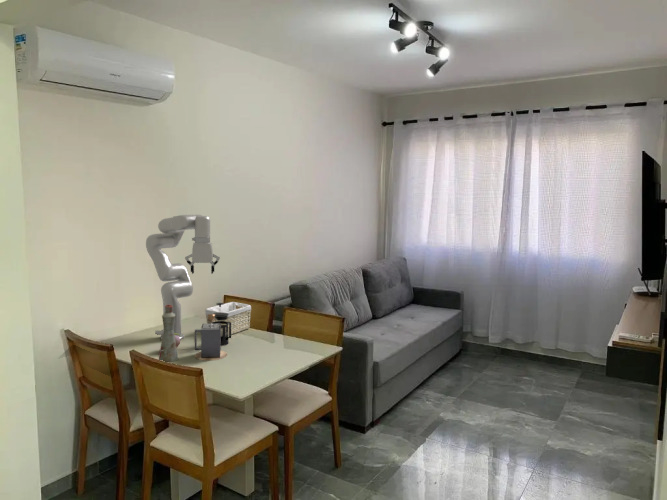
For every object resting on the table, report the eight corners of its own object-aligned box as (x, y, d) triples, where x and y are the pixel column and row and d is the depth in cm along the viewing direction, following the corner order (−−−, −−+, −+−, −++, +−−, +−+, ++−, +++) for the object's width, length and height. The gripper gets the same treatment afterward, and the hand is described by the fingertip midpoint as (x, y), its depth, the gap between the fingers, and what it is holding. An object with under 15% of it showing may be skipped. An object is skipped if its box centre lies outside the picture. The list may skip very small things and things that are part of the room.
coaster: (193, 362, 245) (193, 360, 245) (196, 351, 261) (196, 350, 260) (226, 361, 248) (226, 359, 248) (227, 351, 263) (227, 349, 263)
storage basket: (224, 338, 286) (224, 312, 284) (203, 333, 294) (203, 308, 292) (252, 328, 306) (252, 304, 304) (232, 324, 314) (232, 301, 313)
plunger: (204, 354, 250) (204, 316, 248) (205, 350, 256) (205, 313, 254) (217, 353, 251) (217, 316, 249) (217, 349, 258) (218, 312, 255)
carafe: (194, 358, 248) (193, 328, 246) (195, 352, 257) (195, 323, 255) (219, 357, 250) (220, 328, 249) (220, 351, 259) (220, 323, 257)
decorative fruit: (175, 347, 267) (175, 328, 266) (182, 350, 262) (182, 332, 260) (158, 350, 261) (158, 331, 260) (165, 354, 255) (165, 335, 254)
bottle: (167, 365, 241) (167, 307, 237) (154, 361, 245) (154, 304, 242) (181, 360, 248) (181, 304, 245) (169, 356, 253) (168, 301, 249)
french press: (215, 349, 266) (215, 306, 263) (206, 344, 273) (206, 302, 270) (234, 344, 274) (235, 303, 271) (226, 340, 281) (226, 300, 278)
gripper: (184, 240, 253) (184, 274, 255) (219, 241, 256) (219, 274, 258) (185, 239, 260) (185, 272, 262) (220, 239, 263) (220, 272, 265)
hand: (202, 273), depth 260 cm, fingers open, 9 cm apart
